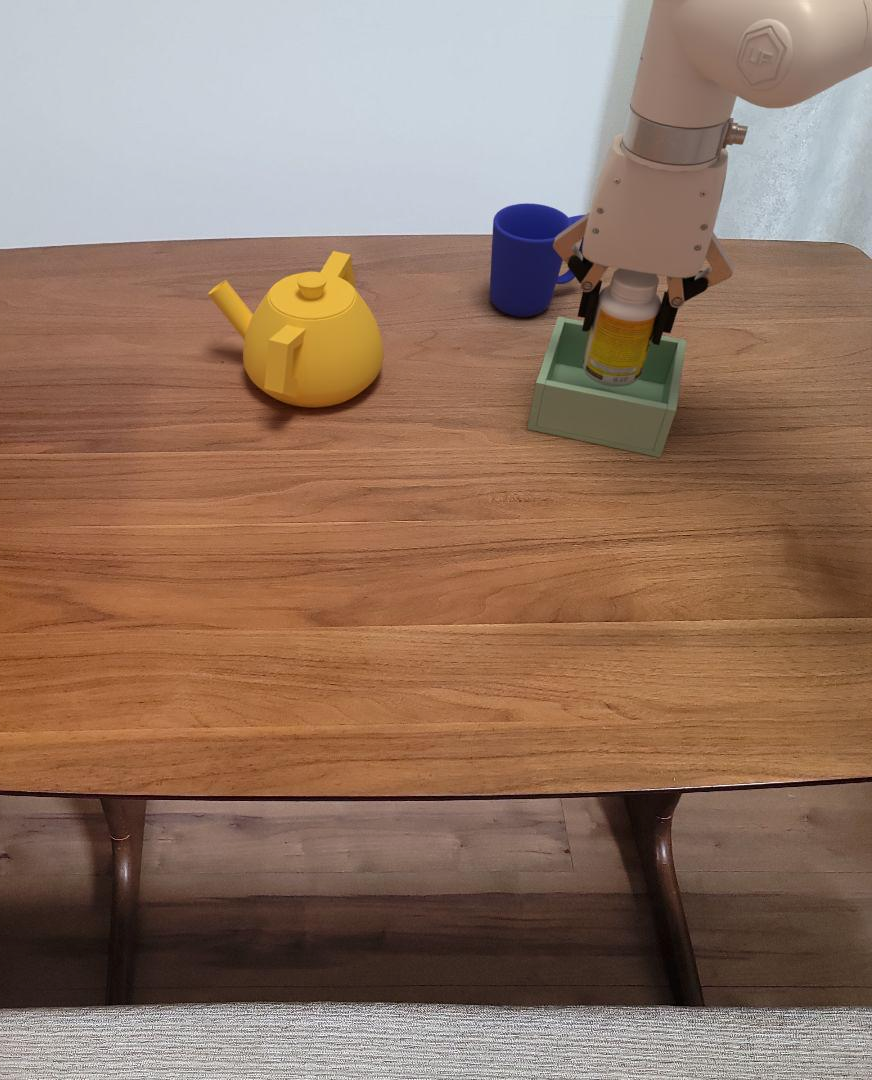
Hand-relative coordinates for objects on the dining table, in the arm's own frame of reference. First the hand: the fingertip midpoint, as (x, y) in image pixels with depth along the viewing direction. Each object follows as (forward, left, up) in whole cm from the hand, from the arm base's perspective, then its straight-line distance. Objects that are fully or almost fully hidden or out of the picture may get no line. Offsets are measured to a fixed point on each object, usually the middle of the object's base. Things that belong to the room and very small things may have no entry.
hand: (622, 328), depth 85 cm
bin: (0, 0, -9) cm, 9 cm away
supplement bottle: (0, 0, -5) cm, 5 cm away
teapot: (+31, +4, -9) cm, 33 cm away
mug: (+10, -17, -9) cm, 22 cm away
